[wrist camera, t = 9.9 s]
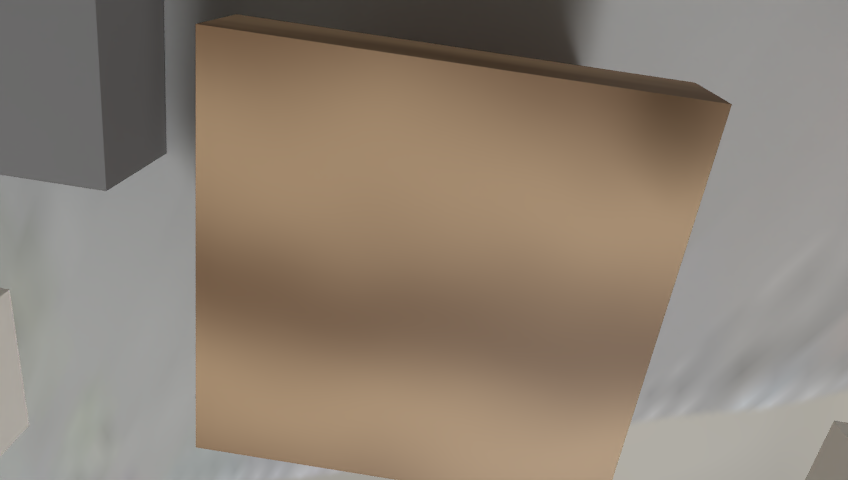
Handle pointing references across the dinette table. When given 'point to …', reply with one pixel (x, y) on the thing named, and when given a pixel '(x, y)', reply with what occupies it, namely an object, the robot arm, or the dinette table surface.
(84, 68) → the gray rectangular block
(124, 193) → the dinette table surface
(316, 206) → the lid
